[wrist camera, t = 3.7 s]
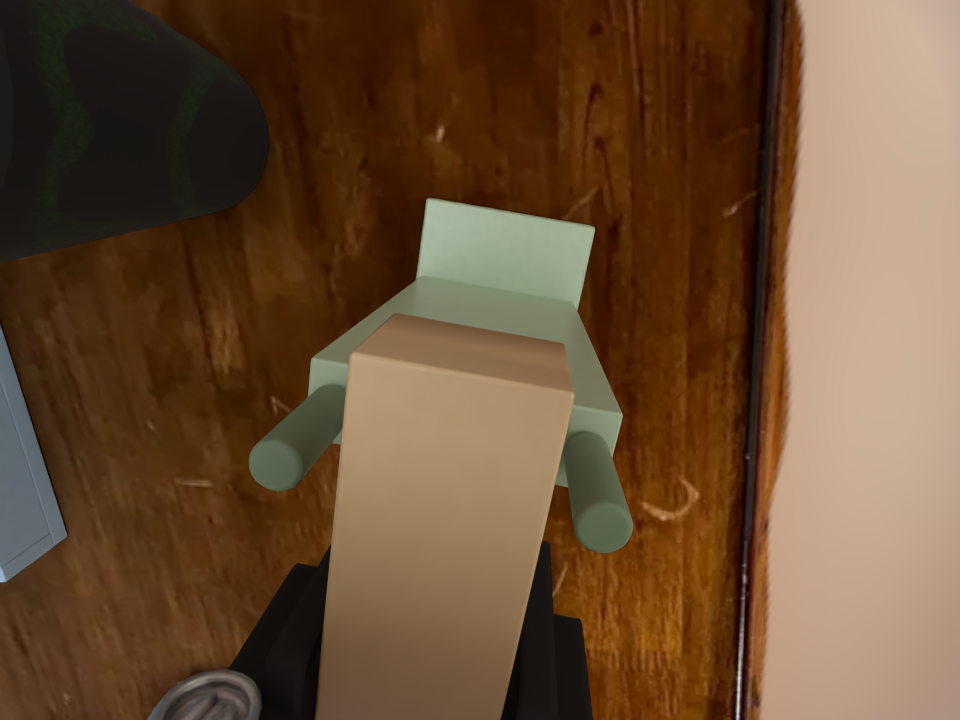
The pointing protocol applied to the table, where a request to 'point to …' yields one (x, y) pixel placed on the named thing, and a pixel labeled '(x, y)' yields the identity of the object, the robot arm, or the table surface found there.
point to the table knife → (438, 518)
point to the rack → (494, 306)
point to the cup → (114, 125)
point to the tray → (22, 481)
